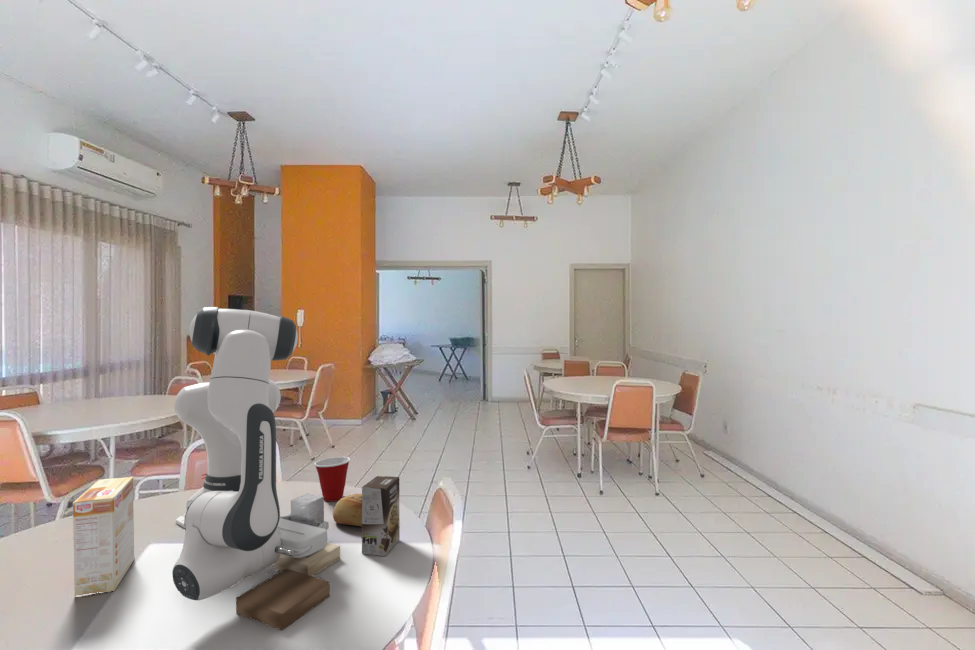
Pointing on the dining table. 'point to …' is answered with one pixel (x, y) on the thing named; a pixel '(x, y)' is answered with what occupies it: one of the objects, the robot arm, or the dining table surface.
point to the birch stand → (310, 561)
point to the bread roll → (349, 510)
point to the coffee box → (380, 515)
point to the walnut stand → (283, 598)
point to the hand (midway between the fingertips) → (310, 520)
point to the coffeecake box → (103, 535)
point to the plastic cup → (332, 477)
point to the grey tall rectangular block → (308, 510)
